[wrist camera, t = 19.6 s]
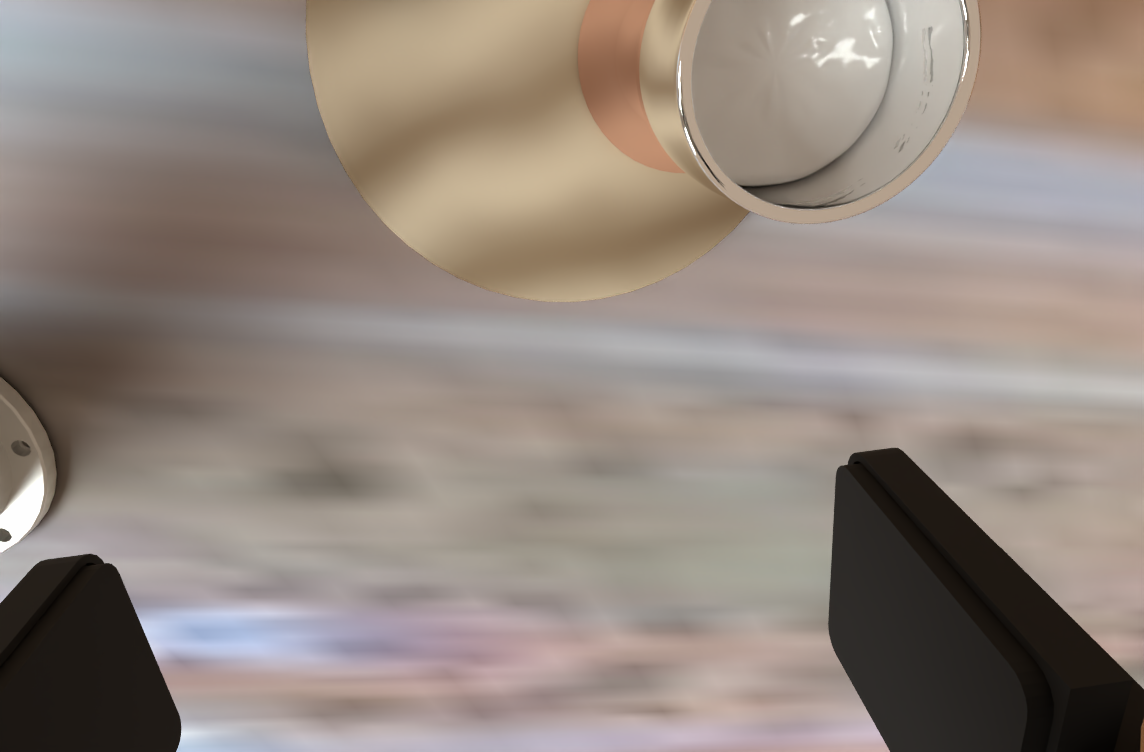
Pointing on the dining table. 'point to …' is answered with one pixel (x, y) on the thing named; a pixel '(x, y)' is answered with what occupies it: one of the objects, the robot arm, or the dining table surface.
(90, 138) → the dining table surface
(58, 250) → the dining table surface
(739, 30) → the beer glass
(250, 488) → the dining table surface
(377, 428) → the dining table surface
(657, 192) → the turntable
